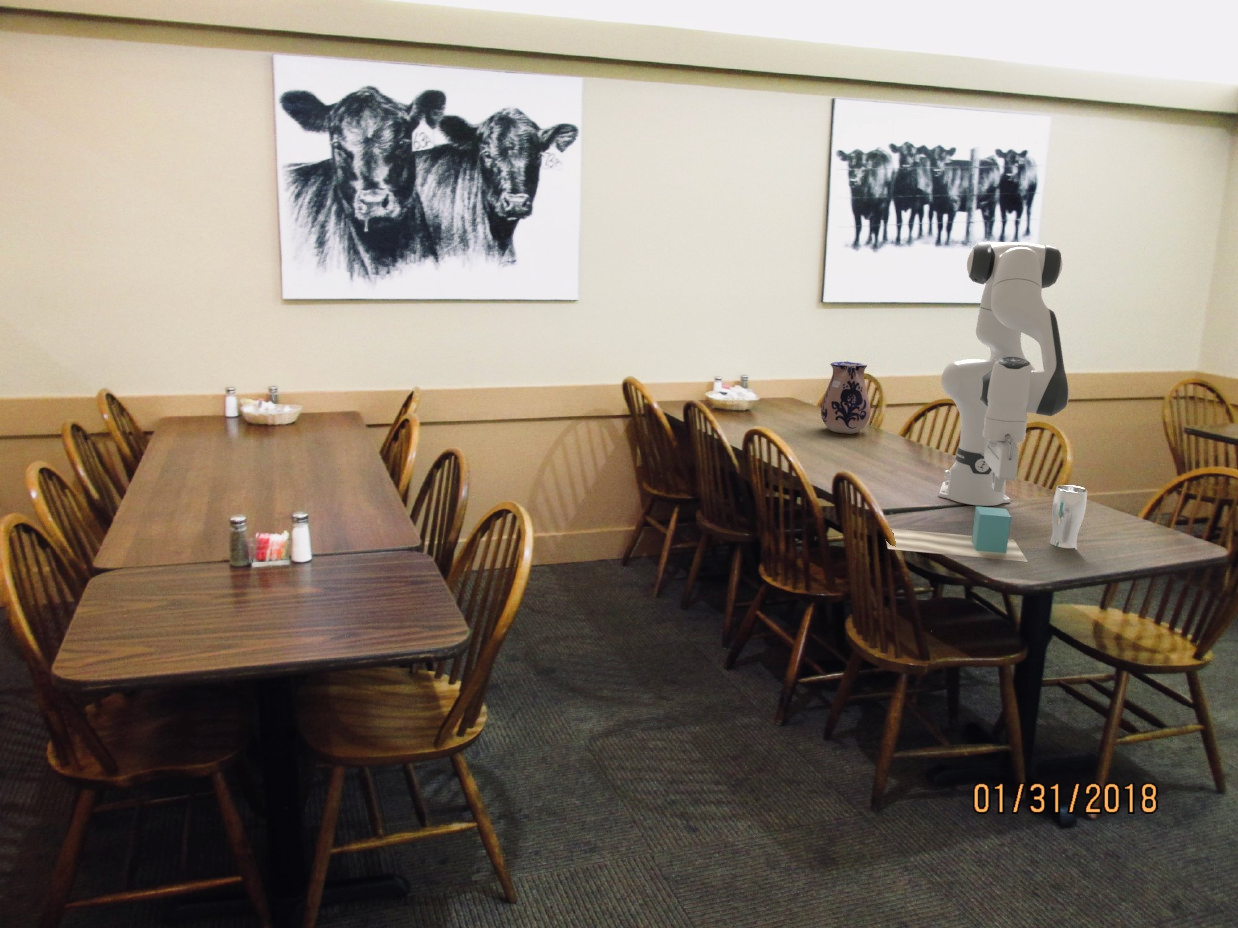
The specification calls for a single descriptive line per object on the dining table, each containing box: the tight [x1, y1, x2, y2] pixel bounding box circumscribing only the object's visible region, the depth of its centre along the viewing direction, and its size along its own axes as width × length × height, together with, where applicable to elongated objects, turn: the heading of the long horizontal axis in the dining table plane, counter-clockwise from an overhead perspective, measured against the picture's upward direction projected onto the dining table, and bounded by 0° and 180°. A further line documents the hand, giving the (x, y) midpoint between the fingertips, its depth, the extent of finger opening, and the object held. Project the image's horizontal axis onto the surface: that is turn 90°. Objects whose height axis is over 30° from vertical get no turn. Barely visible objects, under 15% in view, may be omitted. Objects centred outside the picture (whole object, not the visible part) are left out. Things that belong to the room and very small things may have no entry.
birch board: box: [885, 528, 1029, 563], centre depth 221 cm, size 16×30×2 cm, turn 78°
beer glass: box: [1049, 484, 1088, 551], centre depth 222 cm, size 7×7×15 cm
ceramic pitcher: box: [820, 360, 871, 435], centre depth 348 cm, size 18×21×25 cm
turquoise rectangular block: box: [971, 505, 1012, 553], centre depth 218 cm, size 7×7×9 cm
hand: (996, 490), depth 216 cm, fingers closed
